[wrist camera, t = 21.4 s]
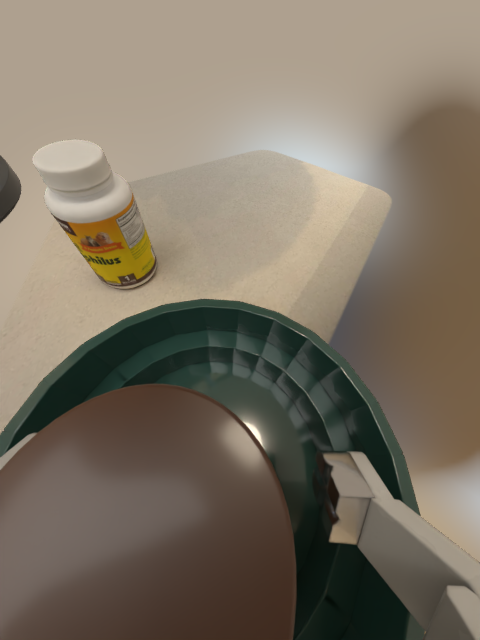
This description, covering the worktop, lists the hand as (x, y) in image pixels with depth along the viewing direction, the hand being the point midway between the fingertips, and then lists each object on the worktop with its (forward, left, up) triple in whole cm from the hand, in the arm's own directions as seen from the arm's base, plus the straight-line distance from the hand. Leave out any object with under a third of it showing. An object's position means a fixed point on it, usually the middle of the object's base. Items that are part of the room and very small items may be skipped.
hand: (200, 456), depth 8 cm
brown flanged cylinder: (0, -1, -8) cm, 8 cm away
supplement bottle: (-10, +15, -8) cm, 20 cm away
